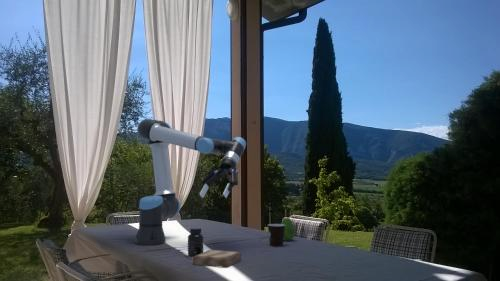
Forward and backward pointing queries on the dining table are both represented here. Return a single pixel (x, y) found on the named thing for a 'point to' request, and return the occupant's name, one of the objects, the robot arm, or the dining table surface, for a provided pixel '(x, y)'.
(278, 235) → the coffee mug
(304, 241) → the dining table surface
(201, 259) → the pedestal
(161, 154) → the robot arm
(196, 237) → the supplement bottle
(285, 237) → the avocado
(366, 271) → the dining table surface
